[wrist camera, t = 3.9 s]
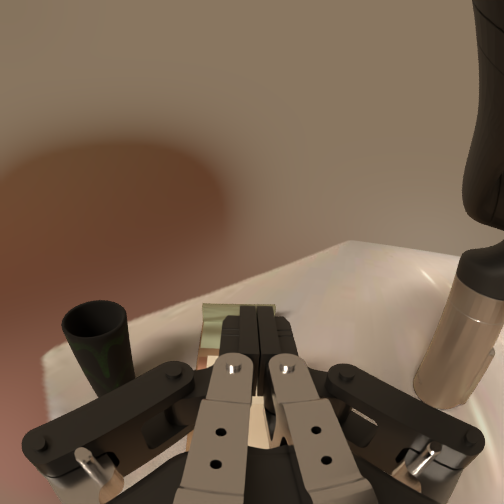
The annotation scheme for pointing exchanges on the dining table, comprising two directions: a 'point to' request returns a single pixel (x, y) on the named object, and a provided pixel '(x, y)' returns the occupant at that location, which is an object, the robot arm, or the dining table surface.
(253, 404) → the block
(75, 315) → the cup
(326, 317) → the dining table surface
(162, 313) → the dining table surface
